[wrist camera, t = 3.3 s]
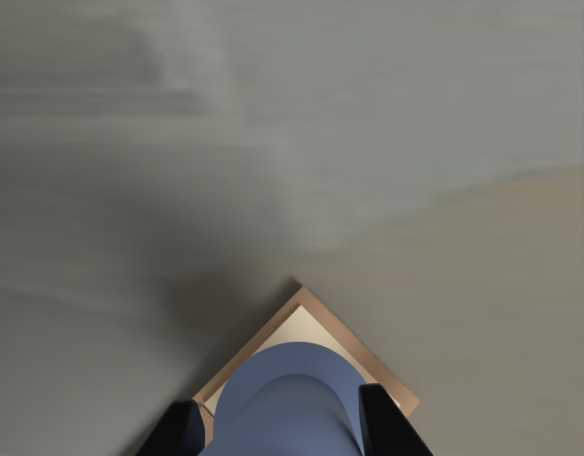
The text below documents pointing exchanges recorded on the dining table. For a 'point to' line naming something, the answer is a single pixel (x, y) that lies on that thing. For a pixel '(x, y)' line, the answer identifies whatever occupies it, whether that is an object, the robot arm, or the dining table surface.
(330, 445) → the pawn
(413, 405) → the board
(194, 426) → the robot arm
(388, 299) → the dining table surface
